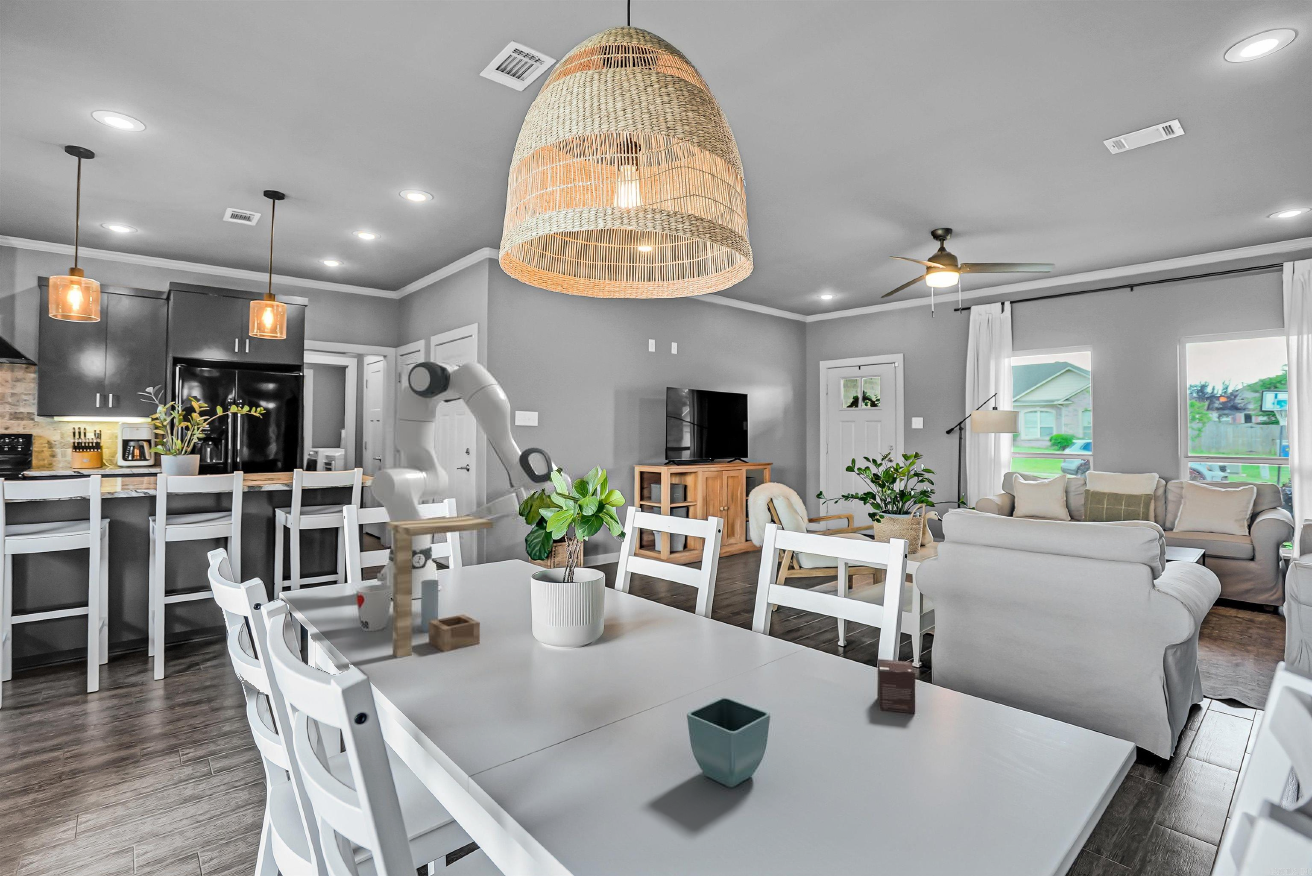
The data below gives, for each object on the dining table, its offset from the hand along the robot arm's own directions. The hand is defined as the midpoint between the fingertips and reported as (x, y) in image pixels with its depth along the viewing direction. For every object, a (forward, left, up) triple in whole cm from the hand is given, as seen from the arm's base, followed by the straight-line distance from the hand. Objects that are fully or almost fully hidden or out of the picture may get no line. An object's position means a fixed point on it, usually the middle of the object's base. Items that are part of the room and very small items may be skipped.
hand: (466, 517), depth 168 cm
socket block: (+16, -11, -27) cm, 33 cm away
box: (+101, +34, -27) cm, 110 cm away
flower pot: (+97, -7, -27) cm, 101 cm away
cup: (-8, -21, -27) cm, 35 cm away
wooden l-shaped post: (+16, -14, -27) cm, 34 cm away
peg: (+2, -11, -27) cm, 29 cm away
